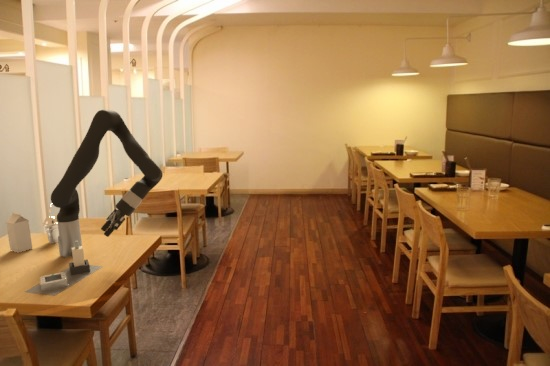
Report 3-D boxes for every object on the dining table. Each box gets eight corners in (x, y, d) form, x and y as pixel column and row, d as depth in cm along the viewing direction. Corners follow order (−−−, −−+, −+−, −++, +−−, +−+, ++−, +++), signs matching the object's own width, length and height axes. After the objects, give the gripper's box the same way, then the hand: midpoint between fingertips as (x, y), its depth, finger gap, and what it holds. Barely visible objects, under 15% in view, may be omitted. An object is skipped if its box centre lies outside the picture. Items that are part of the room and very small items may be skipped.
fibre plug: (75, 273, 177) (71, 243, 174) (74, 269, 180) (70, 240, 178) (85, 271, 179) (82, 241, 176) (84, 267, 182) (81, 239, 180)
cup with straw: (41, 244, 219) (35, 206, 215) (53, 238, 227) (48, 202, 223) (55, 244, 217) (50, 207, 213) (67, 239, 225) (62, 202, 221)
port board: (24, 295, 161) (24, 291, 160) (76, 267, 187) (75, 263, 187) (55, 299, 157) (54, 295, 157) (103, 269, 184) (103, 266, 183)
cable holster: (71, 275, 175) (70, 268, 174) (69, 269, 181) (69, 262, 180) (90, 271, 178) (89, 264, 178) (88, 265, 184) (87, 259, 184)
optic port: (41, 292, 160) (40, 284, 159) (40, 283, 167) (39, 276, 167) (67, 286, 164) (66, 278, 163) (66, 278, 172) (65, 271, 171)
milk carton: (18, 253, 206) (12, 215, 202) (10, 251, 210) (4, 214, 206) (32, 248, 212) (27, 212, 208) (25, 246, 215) (19, 210, 212)
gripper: (119, 194, 189) (94, 224, 185) (125, 201, 177) (99, 232, 173) (132, 204, 192) (108, 233, 189) (139, 211, 180) (114, 242, 177)
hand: (104, 232), depth 181 cm, fingers open, 8 cm apart
